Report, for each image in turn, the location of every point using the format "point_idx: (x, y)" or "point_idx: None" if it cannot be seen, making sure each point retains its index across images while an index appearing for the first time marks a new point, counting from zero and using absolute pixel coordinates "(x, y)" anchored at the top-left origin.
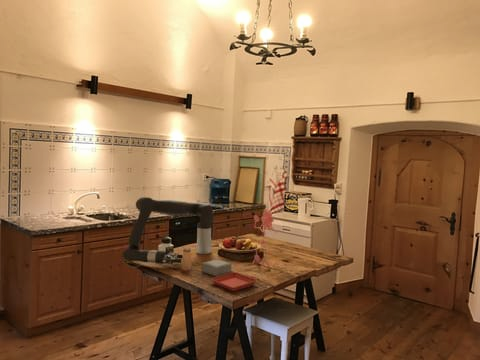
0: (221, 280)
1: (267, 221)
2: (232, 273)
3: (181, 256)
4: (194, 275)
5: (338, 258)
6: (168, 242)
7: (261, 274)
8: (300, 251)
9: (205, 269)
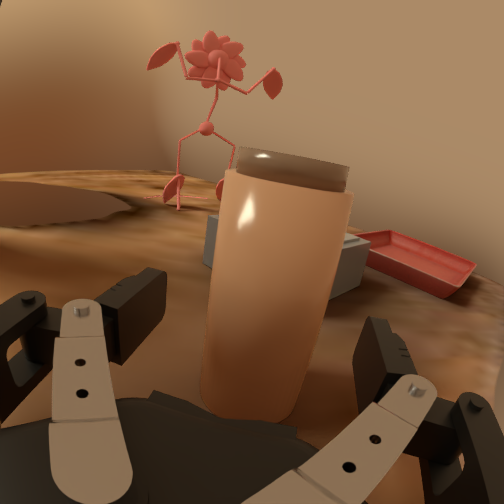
0: (408, 279)
1: (227, 64)
2: None
3: (141, 311)
4: None
5: (168, 172)
6: None
7: None
8: (102, 174)
9: None
